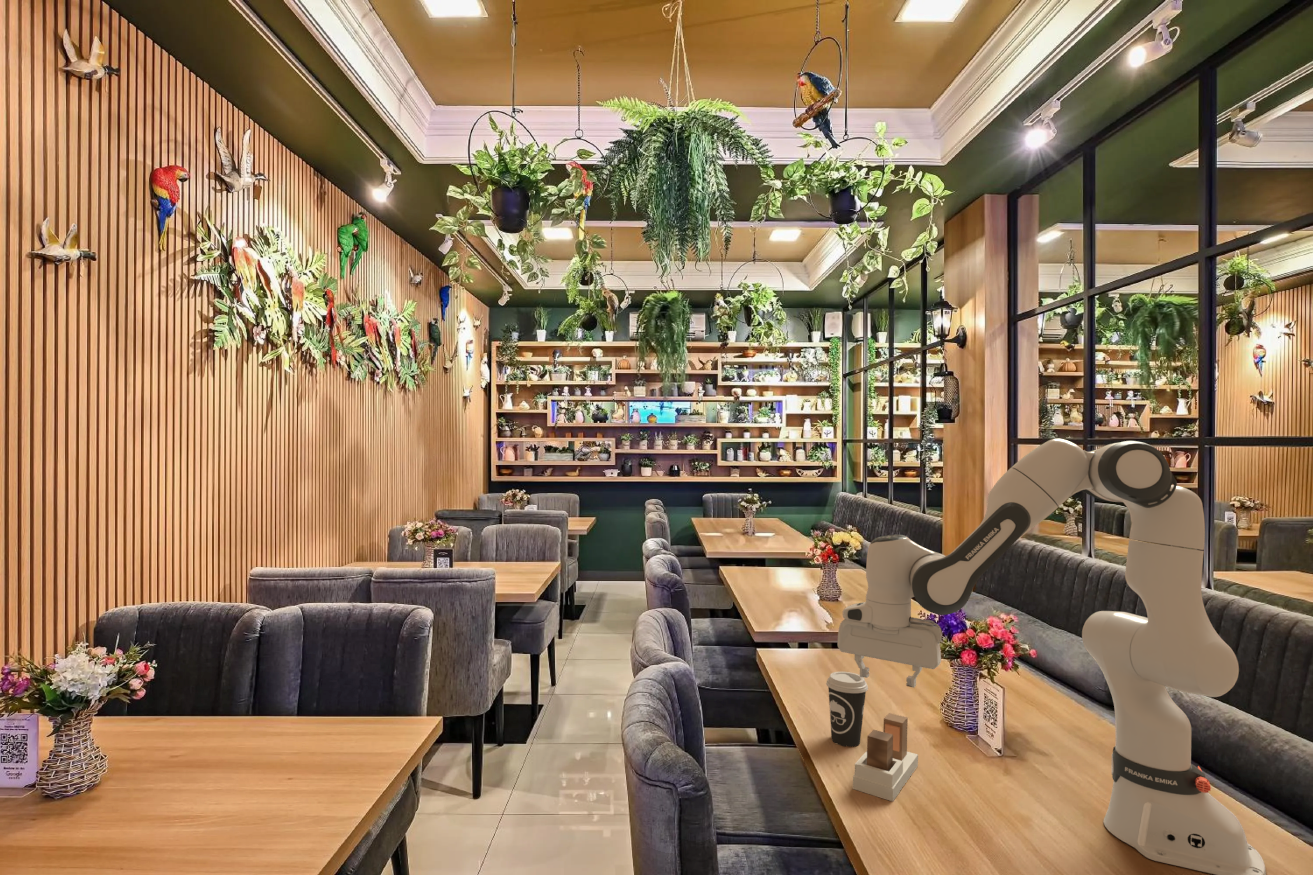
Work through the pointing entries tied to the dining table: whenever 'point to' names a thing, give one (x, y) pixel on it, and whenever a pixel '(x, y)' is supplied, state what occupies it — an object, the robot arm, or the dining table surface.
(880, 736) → the stacked taupe block
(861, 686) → the coffee cup
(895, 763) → the block holder
